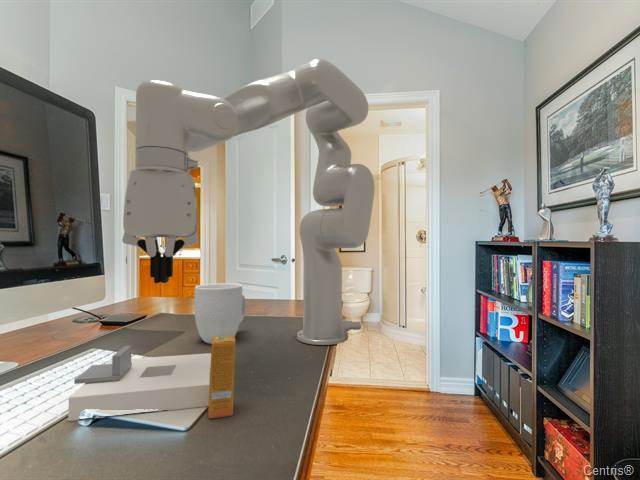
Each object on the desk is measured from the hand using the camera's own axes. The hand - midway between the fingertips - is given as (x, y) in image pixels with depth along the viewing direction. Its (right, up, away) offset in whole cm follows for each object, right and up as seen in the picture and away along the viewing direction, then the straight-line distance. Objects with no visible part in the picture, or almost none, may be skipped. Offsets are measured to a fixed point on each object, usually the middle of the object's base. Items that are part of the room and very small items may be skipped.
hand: (161, 281), depth 51 cm
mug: (+1, -18, +28) cm, 33 cm away
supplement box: (+11, -17, -7) cm, 22 cm away
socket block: (0, -17, 0) cm, 17 cm away
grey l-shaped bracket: (-8, -14, -2) cm, 16 cm away
